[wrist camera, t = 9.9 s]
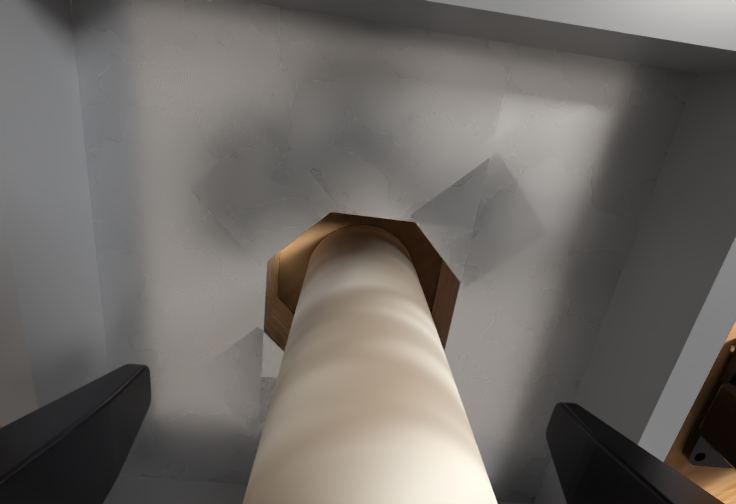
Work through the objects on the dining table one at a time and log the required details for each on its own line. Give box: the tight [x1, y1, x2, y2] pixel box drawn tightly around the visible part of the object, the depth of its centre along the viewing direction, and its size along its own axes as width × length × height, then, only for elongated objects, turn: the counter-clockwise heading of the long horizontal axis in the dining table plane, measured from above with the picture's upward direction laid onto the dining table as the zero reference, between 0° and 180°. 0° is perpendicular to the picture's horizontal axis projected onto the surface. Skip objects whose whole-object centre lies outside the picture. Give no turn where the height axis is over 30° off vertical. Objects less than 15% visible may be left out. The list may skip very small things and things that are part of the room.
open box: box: [0, 0, 736, 504], centre depth 13 cm, size 18×18×6 cm
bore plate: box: [70, 0, 697, 504], centre depth 14 cm, size 16×16×2 cm
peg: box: [243, 225, 498, 504], centre depth 11 cm, size 4×4×10 cm
